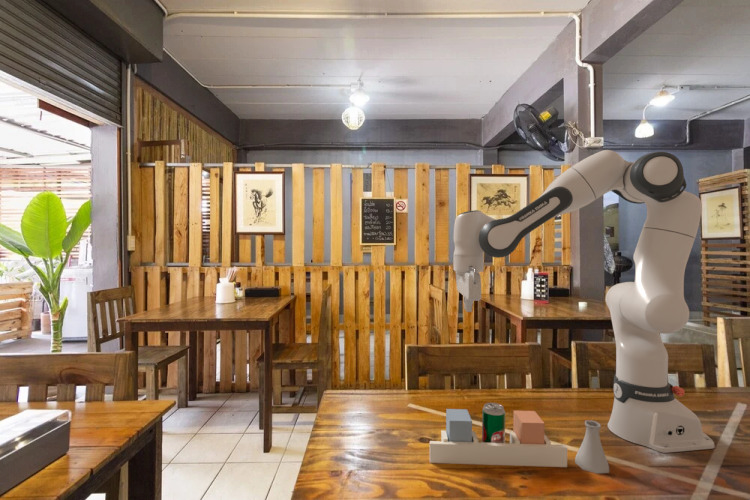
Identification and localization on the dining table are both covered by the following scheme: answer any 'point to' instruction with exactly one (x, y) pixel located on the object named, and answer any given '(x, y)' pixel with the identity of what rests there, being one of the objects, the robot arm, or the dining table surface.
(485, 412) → the soda can
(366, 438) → the dining table surface
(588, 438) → the flask
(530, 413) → the salmon pink brick
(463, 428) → the slate blue upright block
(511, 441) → the tray
